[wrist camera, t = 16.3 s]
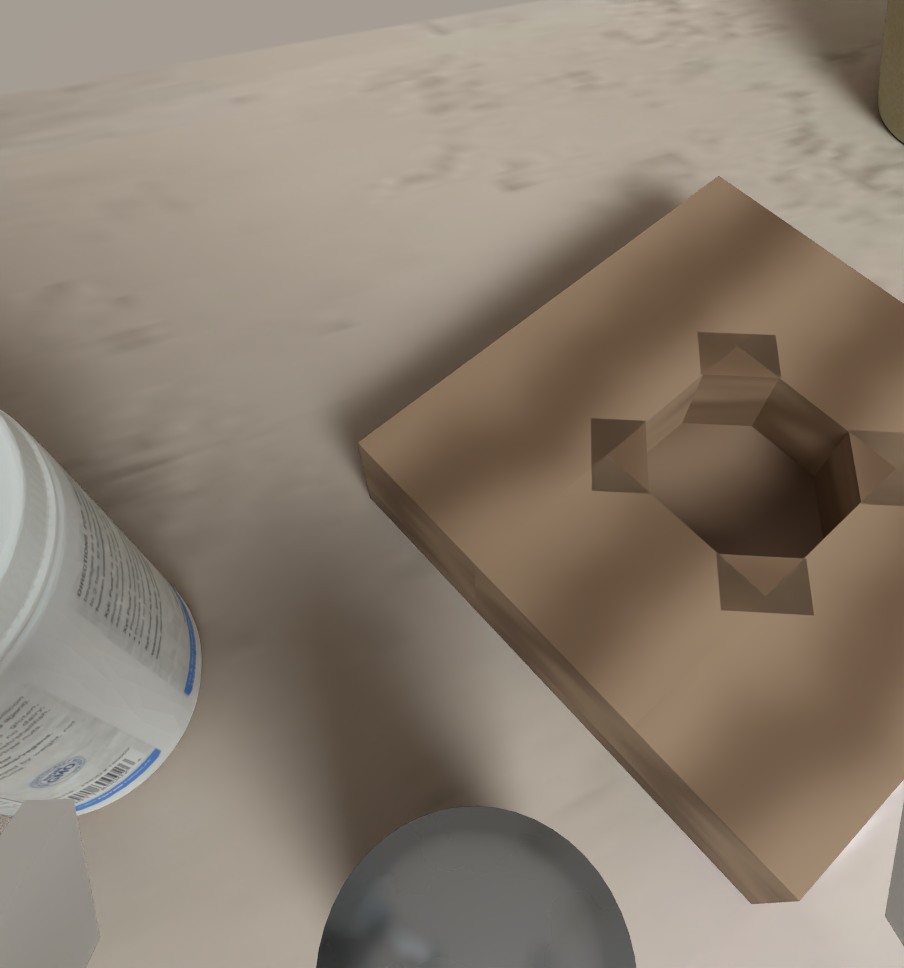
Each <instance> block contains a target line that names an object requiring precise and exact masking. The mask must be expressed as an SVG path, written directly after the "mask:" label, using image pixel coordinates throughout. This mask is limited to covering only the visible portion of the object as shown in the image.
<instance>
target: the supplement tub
mask: <svg viewBox="0 0 904 968" xmlns="http://www.w3.org/2000/svg"><path fill="white" fill-rule="evenodd" d="M201 671H202V652H201V643H200V638H199V634H198V630H197V627H196V624H195V621H194V619H193V617H192V614H191V612H190V610H189V608H188V607H187V605H186V603H185V602H184V600H183V599H182V597H181V596H180V595H179V593H178V592H177V591H176V590H175V589H174V588H173V587H172V585H171V584H170V583H169V582H168V581H167V580H166V579H165V578H164V577H163V575H162V574H161V573H160V572H159V571H158V570H157V569H156V568H155V567H154V566H153V565H152V563H151V562H150V561H149V560H148V559H147V558H146V557H145V556H144V555H143V554H142V553H141V552H140V551H139V549H138V548H137V547H136V546H135V545H134V544H133V543H132V542H131V541H130V540H129V539H128V538H127V537H126V536H125V534H124V533H123V532H122V531H121V530H120V529H119V528H118V527H117V526H116V525H115V524H114V523H113V522H112V520H111V519H110V518H109V517H108V516H107V515H106V514H105V513H104V512H103V511H102V510H101V509H100V507H99V506H98V505H97V504H96V503H95V502H94V501H93V500H92V499H91V498H90V497H89V496H88V495H87V494H86V492H85V491H84V490H83V489H82V488H81V487H80V486H79V485H78V484H77V483H76V482H75V481H74V480H73V479H72V477H71V476H70V475H69V474H68V473H67V472H66V471H65V470H64V469H63V468H62V467H61V466H60V465H59V463H58V462H57V461H56V460H55V459H54V458H53V457H52V456H51V455H50V454H49V453H48V452H47V451H46V450H45V449H44V448H43V447H42V446H41V445H40V444H39V443H38V442H37V441H36V440H35V439H34V438H33V437H32V436H31V435H30V434H29V433H28V432H27V431H26V430H25V429H24V428H23V427H22V426H21V425H20V424H18V423H17V422H16V421H15V420H14V419H13V418H12V417H10V416H9V415H8V414H6V413H5V412H4V411H2V410H1V409H0V814H2V815H7V816H14V815H15V813H16V812H17V811H18V809H19V808H20V806H21V805H22V804H23V802H24V801H25V800H53V799H74V804H75V809H76V814H77V815H81V814H85V813H88V812H92V811H94V810H97V809H99V808H102V807H104V806H106V805H108V804H110V803H112V802H114V801H116V800H118V799H120V798H121V797H123V796H125V795H126V794H128V793H129V792H131V791H132V790H133V789H135V788H136V787H137V786H139V785H140V784H141V783H143V782H144V781H145V780H146V779H147V778H148V777H149V776H151V775H152V774H153V773H154V772H155V771H156V770H157V769H158V768H159V767H160V766H161V764H162V763H163V762H164V761H165V760H166V759H167V757H168V756H169V755H170V754H171V752H172V751H173V750H174V748H175V747H176V745H177V744H178V742H179V740H180V739H181V737H182V735H183V734H184V732H185V730H186V728H187V726H188V724H189V722H190V719H191V717H192V714H193V712H194V709H195V706H196V702H197V699H198V694H199V689H200V681H201Z"/></svg>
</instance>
